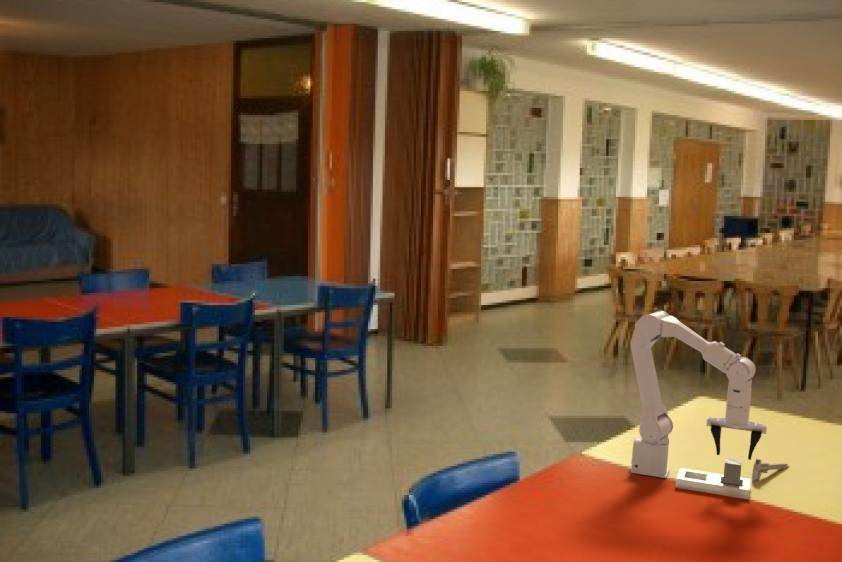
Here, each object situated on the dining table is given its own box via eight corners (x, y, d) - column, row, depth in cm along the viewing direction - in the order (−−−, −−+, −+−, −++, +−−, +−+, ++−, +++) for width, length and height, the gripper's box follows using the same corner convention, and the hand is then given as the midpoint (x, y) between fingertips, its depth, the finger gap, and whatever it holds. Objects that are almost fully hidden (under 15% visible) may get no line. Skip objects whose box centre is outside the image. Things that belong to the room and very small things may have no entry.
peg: (722, 492, 228) (724, 462, 227) (723, 487, 232) (725, 458, 231) (738, 495, 227) (741, 465, 226) (739, 490, 231) (741, 460, 230)
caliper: (755, 483, 237) (757, 461, 236) (751, 482, 237) (753, 460, 237) (789, 467, 250) (791, 446, 250) (785, 466, 251) (787, 445, 250)
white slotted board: (675, 487, 231) (676, 478, 230) (679, 476, 239) (679, 467, 239) (748, 499, 224) (749, 490, 224) (749, 487, 232) (750, 478, 232)
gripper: (707, 405, 226) (703, 456, 228) (768, 412, 220) (763, 465, 222) (709, 398, 232) (705, 448, 234) (768, 406, 227) (763, 457, 229)
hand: (733, 456), depth 229 cm, fingers open, 7 cm apart
